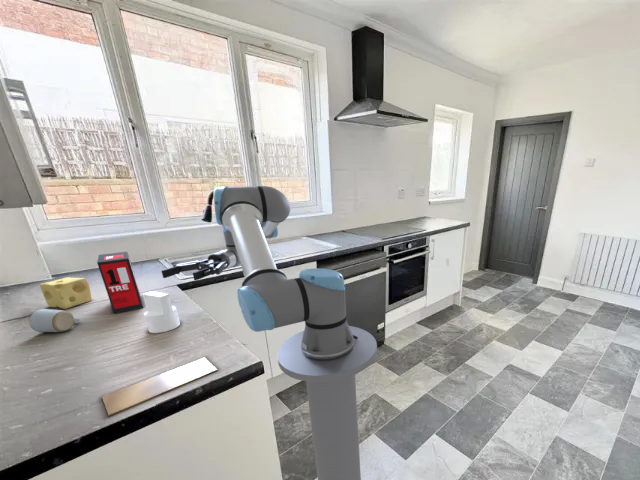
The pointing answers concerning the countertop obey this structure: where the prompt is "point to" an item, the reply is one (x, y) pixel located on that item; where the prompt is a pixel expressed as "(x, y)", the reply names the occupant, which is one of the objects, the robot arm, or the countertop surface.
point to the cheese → (66, 292)
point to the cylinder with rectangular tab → (160, 312)
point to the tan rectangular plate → (156, 385)
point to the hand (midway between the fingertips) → (178, 275)
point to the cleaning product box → (119, 281)
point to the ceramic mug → (51, 320)
